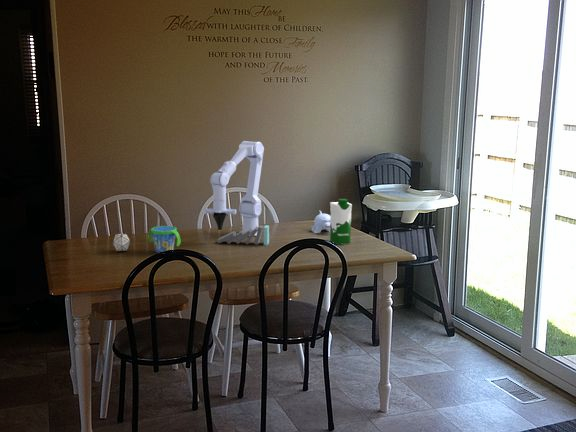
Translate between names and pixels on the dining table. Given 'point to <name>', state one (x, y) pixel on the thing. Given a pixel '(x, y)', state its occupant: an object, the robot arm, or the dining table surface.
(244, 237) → the domino
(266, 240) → the domino
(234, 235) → the domino
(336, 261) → the dining table surface
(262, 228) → the domino
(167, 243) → the snack cup
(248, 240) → the domino
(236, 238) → the domino
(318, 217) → the hippopotamus toy
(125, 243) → the game die
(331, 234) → the milk carton
